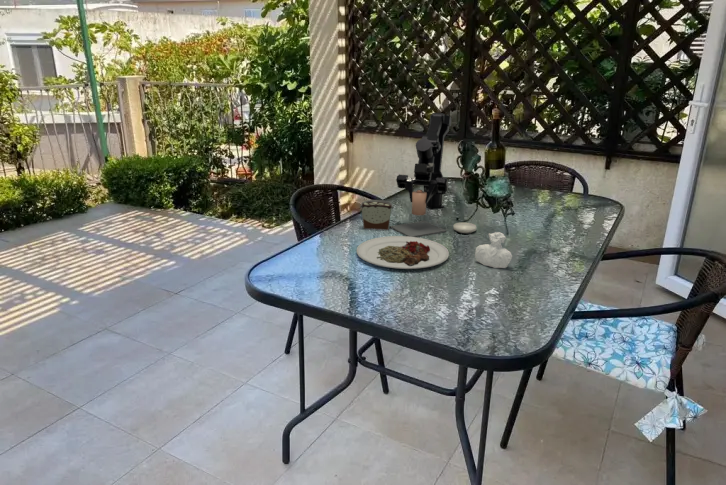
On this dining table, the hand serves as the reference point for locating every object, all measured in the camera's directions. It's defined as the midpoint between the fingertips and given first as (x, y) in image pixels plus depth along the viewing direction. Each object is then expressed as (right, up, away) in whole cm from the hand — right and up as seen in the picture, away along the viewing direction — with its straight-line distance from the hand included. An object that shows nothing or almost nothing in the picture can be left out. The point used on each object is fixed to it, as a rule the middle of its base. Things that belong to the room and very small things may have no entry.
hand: (418, 202), depth 194 cm
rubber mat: (0, -10, +5) cm, 11 cm away
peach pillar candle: (0, -4, +3) cm, 5 cm away
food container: (-15, -9, +8) cm, 19 cm away
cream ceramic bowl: (+18, -10, +4) cm, 21 cm away
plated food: (-7, -19, -21) cm, 29 cm away
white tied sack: (+21, -22, -28) cm, 41 cm away
